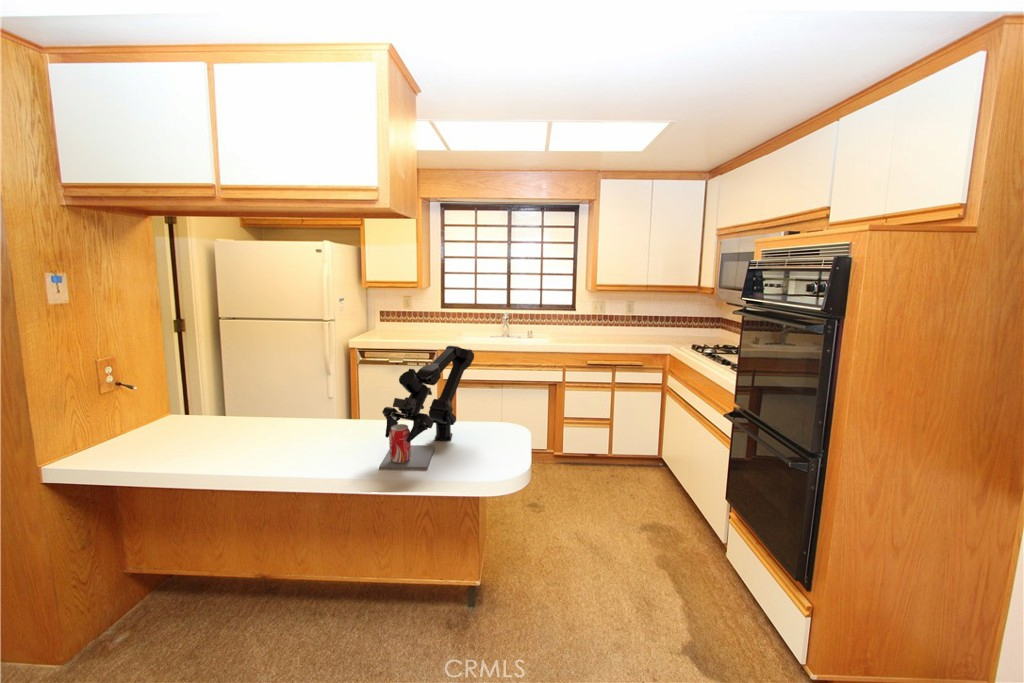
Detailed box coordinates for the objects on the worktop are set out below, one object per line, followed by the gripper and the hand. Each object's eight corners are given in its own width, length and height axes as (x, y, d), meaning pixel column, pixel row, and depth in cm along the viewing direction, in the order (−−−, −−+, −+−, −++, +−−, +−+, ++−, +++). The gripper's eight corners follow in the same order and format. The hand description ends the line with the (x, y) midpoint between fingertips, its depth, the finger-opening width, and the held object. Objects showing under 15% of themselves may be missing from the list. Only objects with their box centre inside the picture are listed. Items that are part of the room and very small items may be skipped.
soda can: (387, 458, 157) (386, 425, 155) (408, 454, 160) (407, 422, 158) (392, 466, 151) (391, 432, 149) (413, 462, 154) (412, 428, 152)
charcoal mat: (391, 447, 168) (391, 445, 168) (434, 447, 169) (434, 445, 168) (379, 469, 150) (378, 466, 150) (427, 469, 151) (427, 466, 151)
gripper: (384, 384, 159) (362, 424, 151) (427, 391, 150) (407, 434, 143) (400, 400, 167) (380, 438, 159) (441, 407, 159) (423, 448, 151)
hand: (396, 439), depth 153 cm, fingers open, 9 cm apart
